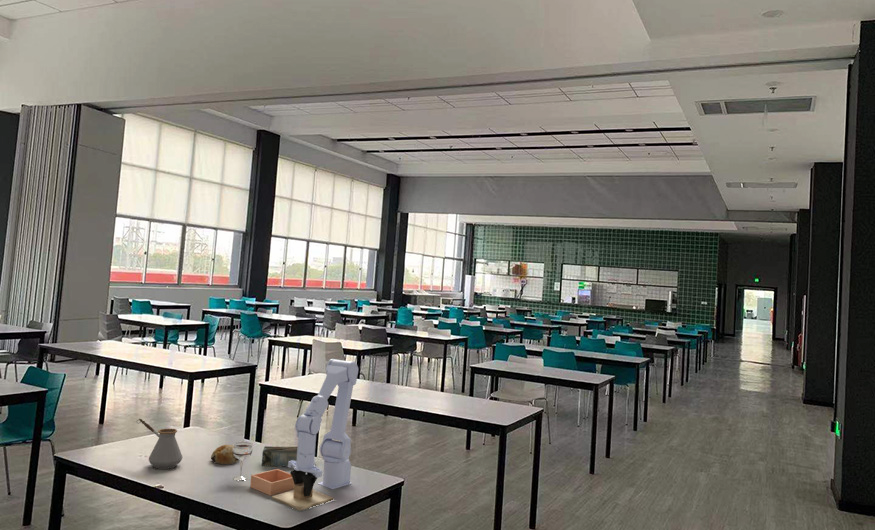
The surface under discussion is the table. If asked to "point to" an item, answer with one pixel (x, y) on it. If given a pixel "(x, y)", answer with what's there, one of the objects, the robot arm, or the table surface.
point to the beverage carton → (278, 455)
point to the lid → (301, 498)
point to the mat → (288, 506)
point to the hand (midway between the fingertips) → (303, 494)
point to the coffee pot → (164, 448)
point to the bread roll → (224, 455)
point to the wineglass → (242, 455)
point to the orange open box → (272, 482)
